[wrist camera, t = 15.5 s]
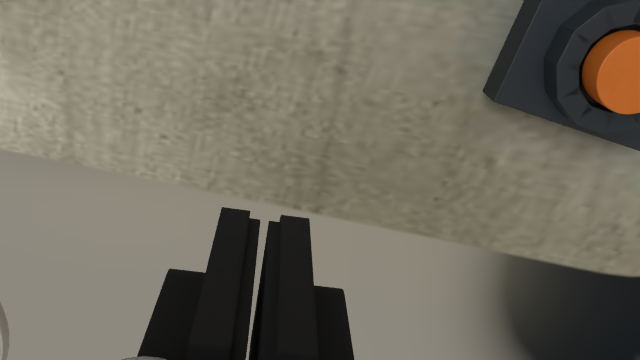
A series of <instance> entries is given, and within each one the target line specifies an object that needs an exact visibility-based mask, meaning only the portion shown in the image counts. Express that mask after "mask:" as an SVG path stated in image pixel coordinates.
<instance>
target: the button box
mask: <svg viewBox="0 0 640 360" xmlns="http://www.w3.org/2000/svg"><path fill="white" fill-rule="evenodd" d="M622 30H635V31H639V32H640V0H525V1H524V3H523V5H522V7H521V9H520V11H519V14H518V16H517V18H516V20H515V22H514V24H513V27H512V29H511V31H510V33H509V35H508V37H507V40H506V42H505V44H504V46H503V48H502V50H501V53H500V55H499V57H498V59H497V61H496V63H495V66H494V68H493V70H492V72H491V74H490V76H489V79H488V81H487V83H486V85H485V87H484V89H483V92H484V93H485V94H487V95H488V96H489V97H490V98H491V99H492V100H493V101H494V102H497V103H500V104H503V105H506V106H509V107H512V108H514V109H517V110H520V111H523V112H526V113H529V114H532V115H535V116H538V117H541V118H544V119H547V120H550V121H553V122H556V123H559V124H562V125H565V126H568V127H571V128H573V129H576V130H579V131H582V132H585V133H588V134H591V135H594V136H597V137H600V138H603V139H606V140H609V141H612V142H615V143H618V144H621V145H624V146H627V147H630V148H633V149H635V150H638V151H640V113H636V114H620V113H616V112H613V111H611V110H610V109H608V108H606V107H605V106H603V105H601V104H600V103H598V102H597V101H595V100H593V99H592V98H591V97H590V96H589V95H588V94H587V92H586V90H585V88H584V86H583V82H582V69H583V65H584V62H585V59H586V57H587V55H588V54H589V52H590V51H591V49H592V48H593V47H594V46H595V45H596V44H597V43H598V42H599V41H600V40H601V39H603V38H604V37H606V36H608V35H610V34H612V33H614V32H617V31H622Z"/></svg>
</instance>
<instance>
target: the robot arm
mask: <svg viewBox="0 0 640 360" xmlns="http://www.w3.org/2000/svg"><path fill="white" fill-rule="evenodd" d="M249 216H250V211H246V210H239V209H231V208H224V207H222V209H221V213H220V217H219V221H218V225H217V229H216V233H215V238H214V241H213V245H212V249H211V253H210V257H209V261H208V266H207V270H206V273H203V272H193V271H185V270H177V269H169V270H168V273H167V275H166V278H165V281H164V283H163V286H162V289H161V292H160V295H159V297H158V300H157V303H156V305H155V308H154V311H153V314H152V317H151V319H150V322H149V325H148V328H147V330H146V333H145V336H144V339H143V342H142V345H141V347H140V350H139V353H138V356H137V357H132V358H126V359H123V360H245V359H246V352H247V344H248V334H249V325H250V315H251V305H252V296H253V286H254V276H255V266H256V257H257V246H258V237H259V227H260V220H257V219H251V218H249ZM249 360H354V355H353V349H352V343H351V335H350V329H349V322H348V316H347V309H346V302H345V295H344V291H343V290H342V289H339V288H330V287H322V286H314V282H313V268H312V252H311V238H310V223H309V219H308V218H300V217H292V216H285V215H281V217H280V222H274V221H269V225H268V231H267V237H266V244H265V250H264V257H263V264H262V270H261V277H260V284H259V290H258V296H257V303H256V310H255V316H254V323H253V330H252V336H251V343H250V352H249Z"/></svg>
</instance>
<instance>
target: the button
mask: <svg viewBox="0 0 640 360" xmlns="http://www.w3.org/2000/svg"><path fill="white" fill-rule="evenodd" d="M582 82H583V86H584V88H585V90H586V92H587V94H588V95H589V96H590V97H591V98H592V99H593V100H595V101H597V102H598V103H600V104H601V105H603V106H605V107H606V108H608V109H610V110H611V111H613V112H616V113H620V114H636V113H640V32H639V31H635V30H622V31H617V32H614V33H612V34H610V35H608V36H606V37H604V38H603V39H601V40H600V41H599V42H598V43H597V44H596V45H595V46H594V47H593V48H592V49H591V51H590V52H589V54H588V55H587V57H586V59H585V62H584V65H583V69H582Z"/></svg>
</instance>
